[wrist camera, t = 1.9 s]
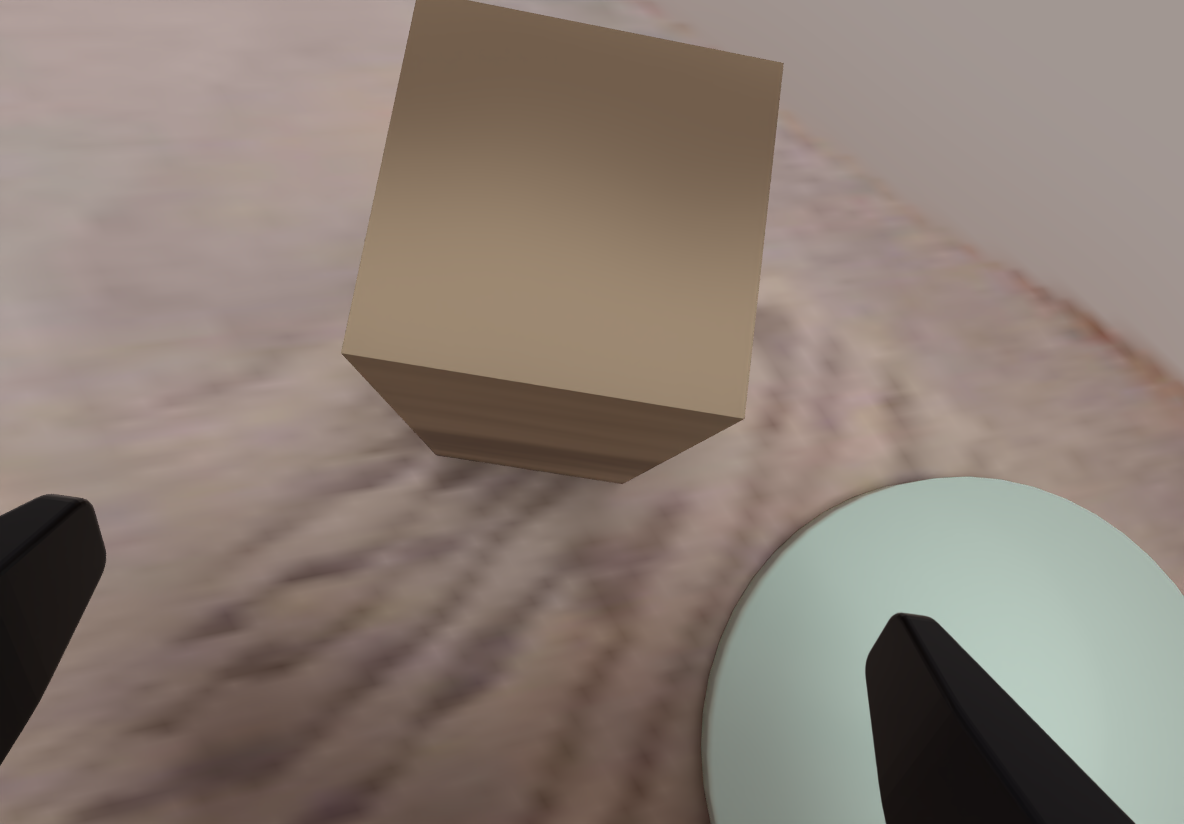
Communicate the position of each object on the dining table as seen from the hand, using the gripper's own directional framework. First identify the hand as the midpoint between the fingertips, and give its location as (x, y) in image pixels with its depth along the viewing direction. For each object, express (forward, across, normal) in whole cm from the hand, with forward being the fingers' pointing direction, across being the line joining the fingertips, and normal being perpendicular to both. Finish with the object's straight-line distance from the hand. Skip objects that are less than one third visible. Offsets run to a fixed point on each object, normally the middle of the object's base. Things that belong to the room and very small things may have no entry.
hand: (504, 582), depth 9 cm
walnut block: (+11, 0, +5) cm, 12 cm away
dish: (+6, -12, +10) cm, 17 cm away
